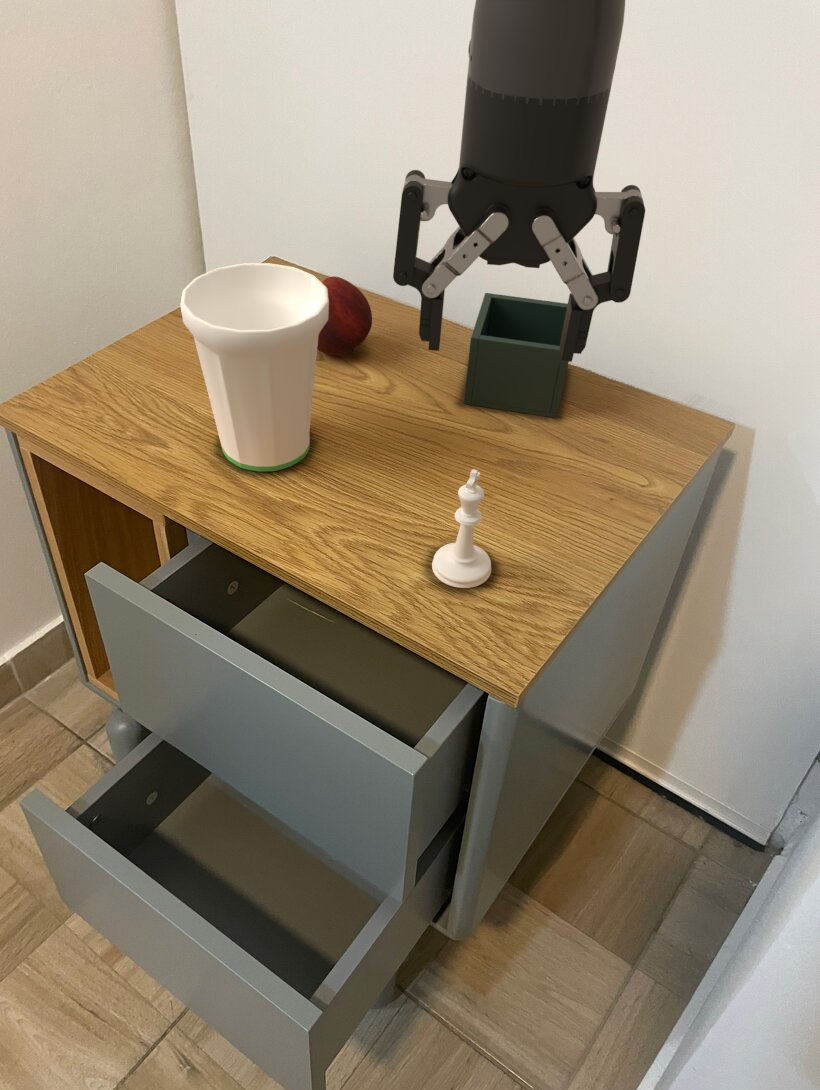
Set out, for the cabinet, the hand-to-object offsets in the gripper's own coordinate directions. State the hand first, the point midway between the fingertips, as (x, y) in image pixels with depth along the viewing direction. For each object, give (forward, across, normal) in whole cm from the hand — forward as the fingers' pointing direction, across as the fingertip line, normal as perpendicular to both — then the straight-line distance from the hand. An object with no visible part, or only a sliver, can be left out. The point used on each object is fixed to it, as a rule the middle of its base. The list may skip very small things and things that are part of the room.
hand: (499, 350), depth 57 cm
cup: (+21, -20, +16) cm, 33 cm away
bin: (+21, +4, +30) cm, 37 cm away
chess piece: (+21, 0, +1) cm, 21 cm away
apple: (+21, -16, +34) cm, 43 cm away
